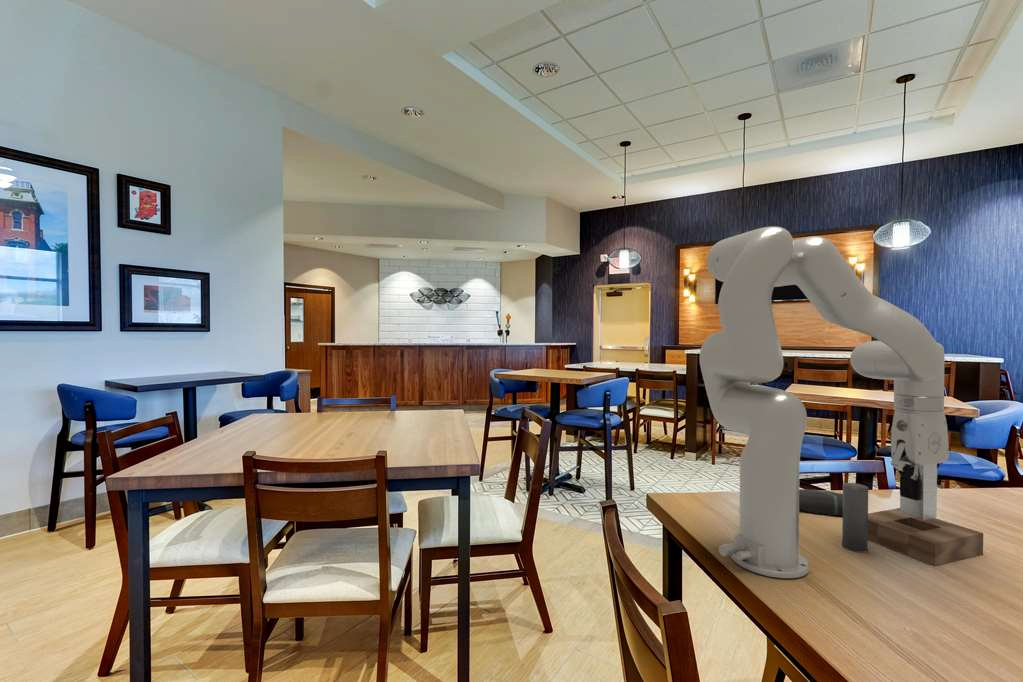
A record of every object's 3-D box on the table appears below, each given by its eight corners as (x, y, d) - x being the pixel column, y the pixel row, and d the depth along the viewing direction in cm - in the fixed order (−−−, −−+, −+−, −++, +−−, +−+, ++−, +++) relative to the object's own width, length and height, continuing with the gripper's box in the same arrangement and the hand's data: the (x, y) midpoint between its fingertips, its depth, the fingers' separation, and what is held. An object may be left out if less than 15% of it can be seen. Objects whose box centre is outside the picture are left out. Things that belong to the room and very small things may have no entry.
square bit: (923, 520, 91) (923, 457, 91) (900, 512, 95) (900, 453, 95) (936, 517, 93) (936, 456, 93) (913, 510, 96) (913, 451, 96)
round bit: (858, 553, 90) (858, 490, 90) (837, 544, 94) (837, 483, 94) (872, 550, 91) (873, 488, 91) (851, 541, 95) (852, 481, 95)
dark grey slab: (861, 538, 97) (751, 523, 106) (840, 508, 115) (747, 497, 123) (861, 512, 97) (751, 499, 105) (840, 486, 114) (747, 476, 123)
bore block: (935, 566, 85) (935, 543, 85) (855, 534, 98) (855, 515, 98) (983, 554, 90) (983, 533, 90) (901, 525, 103) (901, 507, 103)
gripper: (911, 409, 87) (911, 508, 88) (968, 404, 93) (967, 497, 93) (869, 403, 94) (868, 495, 95) (924, 399, 100) (923, 486, 100)
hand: (917, 495), depth 94 cm, fingers closed on square bit, 4 cm apart
